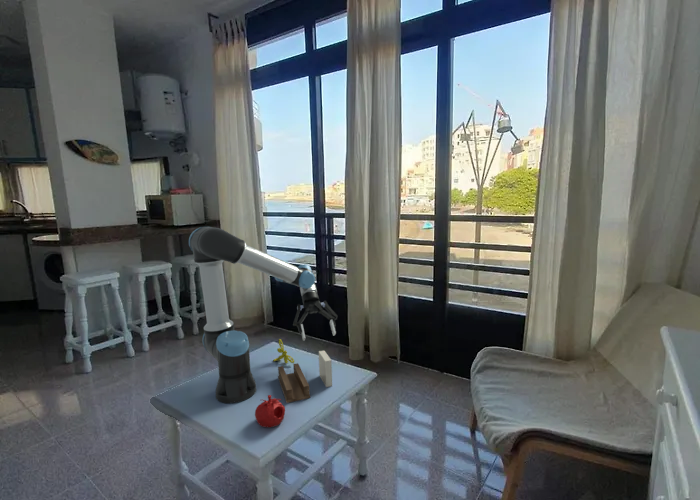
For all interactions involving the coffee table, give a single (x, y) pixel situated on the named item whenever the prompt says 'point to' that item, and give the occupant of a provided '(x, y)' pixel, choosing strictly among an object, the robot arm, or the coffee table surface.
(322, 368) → the cream rectangular block
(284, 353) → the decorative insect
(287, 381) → the rack
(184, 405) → the coffee table surface
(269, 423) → the pomegranate
